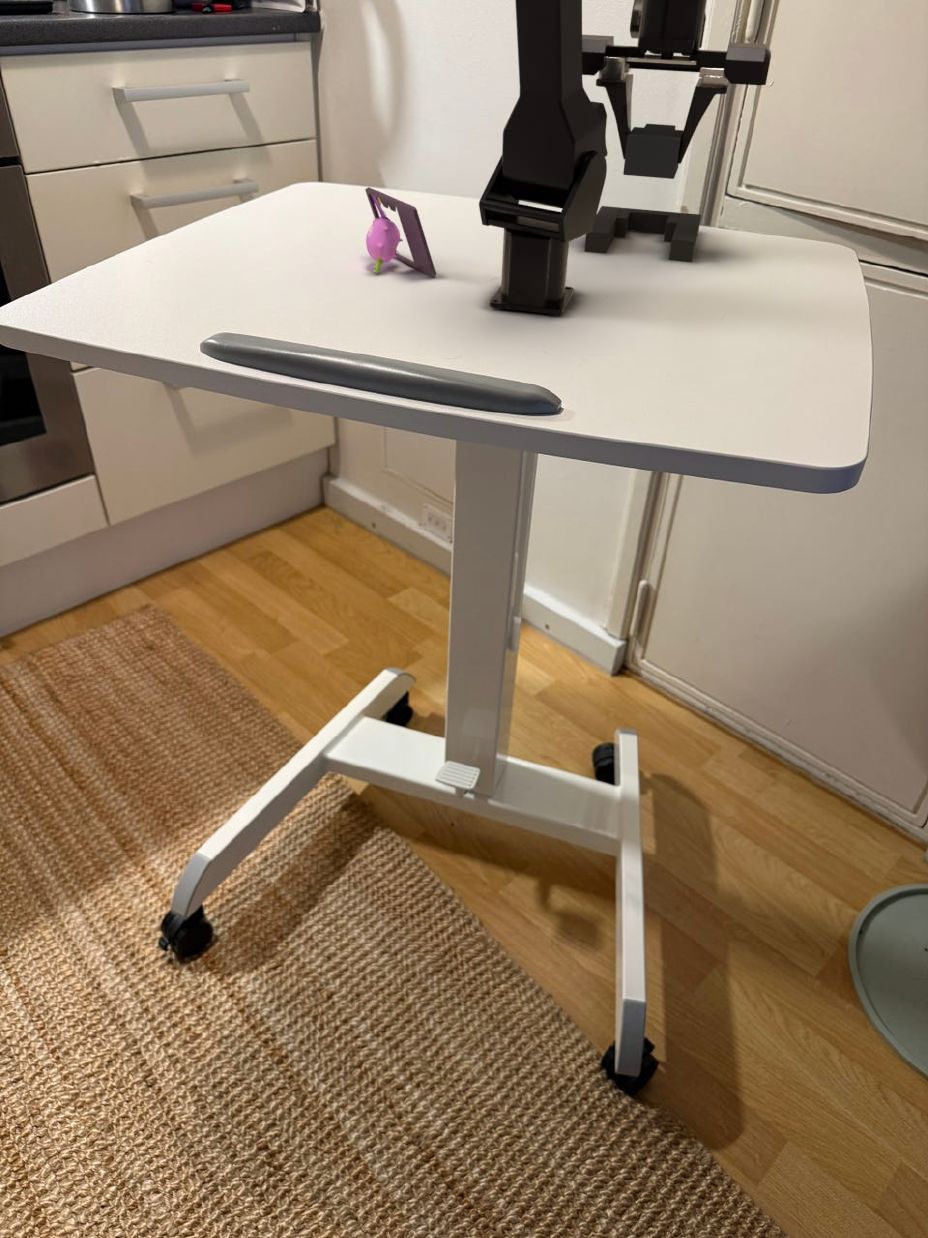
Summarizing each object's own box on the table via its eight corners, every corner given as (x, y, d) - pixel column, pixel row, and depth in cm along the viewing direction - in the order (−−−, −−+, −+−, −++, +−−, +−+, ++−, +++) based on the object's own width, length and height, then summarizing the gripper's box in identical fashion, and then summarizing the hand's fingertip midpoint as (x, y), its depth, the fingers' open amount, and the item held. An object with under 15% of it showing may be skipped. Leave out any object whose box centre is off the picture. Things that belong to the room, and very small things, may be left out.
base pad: (691, 261, 91) (694, 241, 90) (584, 251, 93) (586, 230, 92) (697, 233, 100) (701, 214, 98) (599, 224, 102) (601, 205, 101)
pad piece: (674, 178, 88) (680, 139, 86) (622, 174, 89) (627, 135, 87) (679, 163, 94) (685, 125, 91) (631, 159, 95) (636, 122, 92)
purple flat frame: (422, 203, 81) (374, 182, 87) (375, 231, 80) (329, 208, 86) (443, 271, 86) (395, 247, 92) (399, 298, 85) (354, 272, 90)
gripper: (786, -32, 84) (750, 152, 94) (589, -39, 88) (573, 139, 98) (787, -28, 76) (747, 174, 85) (569, -36, 79) (555, 159, 89)
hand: (652, 160), depth 90 cm, fingers closed on pad piece, 5 cm apart
